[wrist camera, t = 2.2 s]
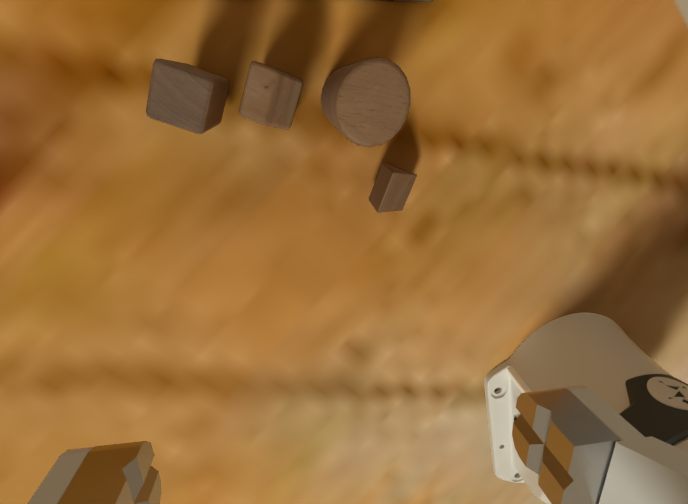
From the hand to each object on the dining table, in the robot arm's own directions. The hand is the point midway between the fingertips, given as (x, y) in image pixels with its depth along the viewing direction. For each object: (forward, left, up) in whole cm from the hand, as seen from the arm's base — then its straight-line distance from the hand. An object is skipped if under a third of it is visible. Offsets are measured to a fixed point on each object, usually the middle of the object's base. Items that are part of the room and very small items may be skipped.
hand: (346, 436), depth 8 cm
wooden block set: (+7, -1, -24) cm, 25 cm away
